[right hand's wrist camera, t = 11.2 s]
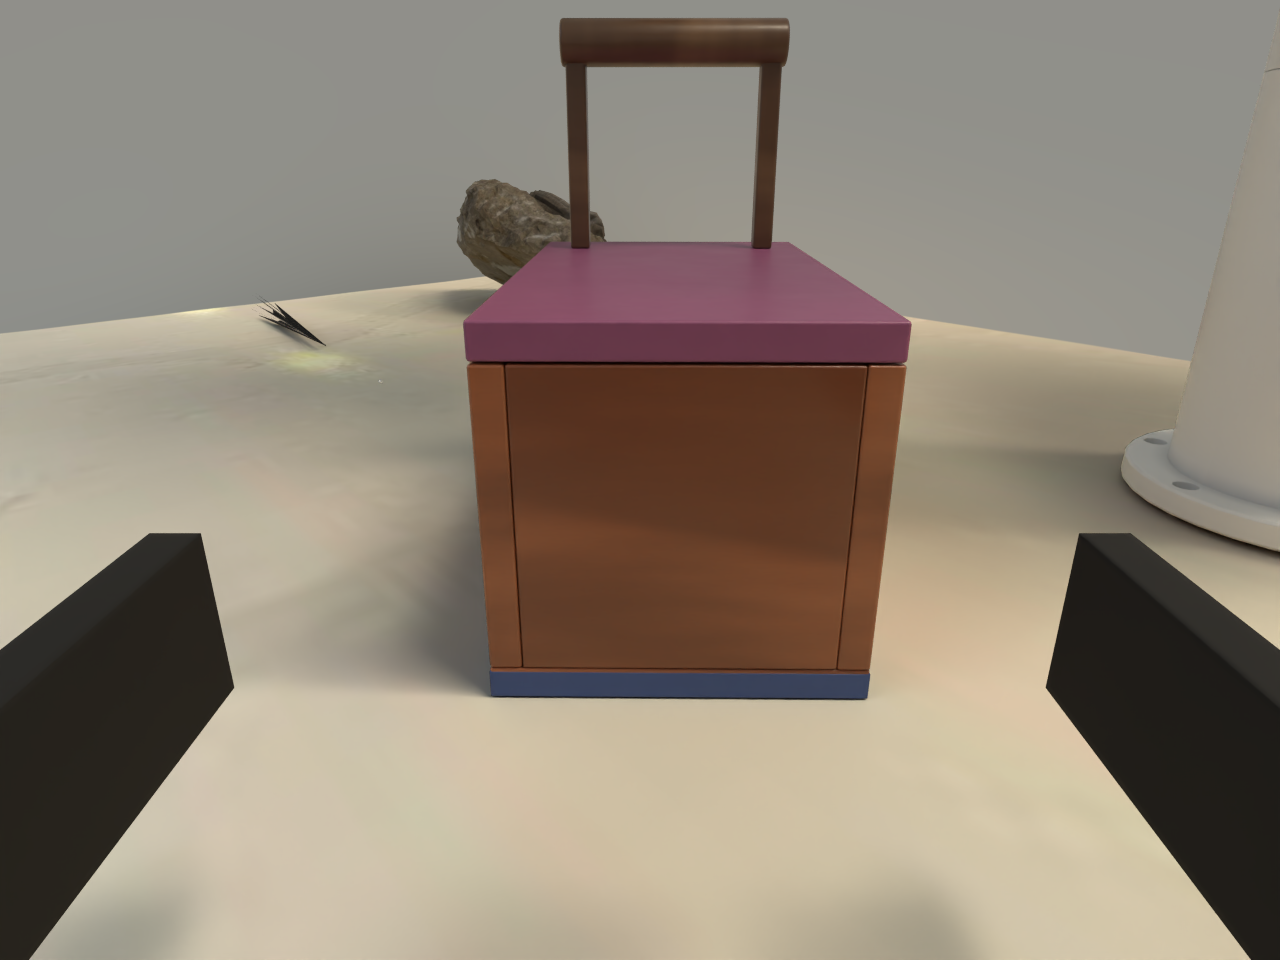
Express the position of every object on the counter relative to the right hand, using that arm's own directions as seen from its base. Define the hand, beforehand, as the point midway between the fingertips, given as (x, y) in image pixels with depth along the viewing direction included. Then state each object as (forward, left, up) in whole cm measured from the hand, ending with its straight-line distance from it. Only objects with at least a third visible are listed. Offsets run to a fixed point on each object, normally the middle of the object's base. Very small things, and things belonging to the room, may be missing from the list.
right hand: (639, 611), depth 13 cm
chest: (+1, -15, -7) cm, 16 cm away
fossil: (+18, -59, -7) cm, 62 cm away
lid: (+1, -15, +2) cm, 15 cm away
